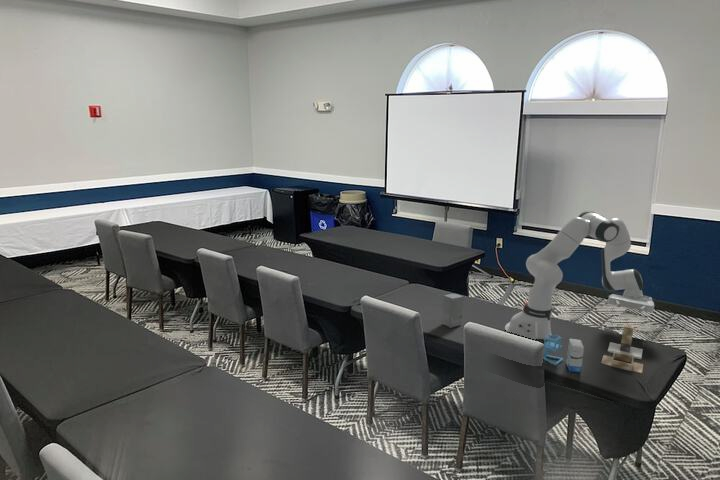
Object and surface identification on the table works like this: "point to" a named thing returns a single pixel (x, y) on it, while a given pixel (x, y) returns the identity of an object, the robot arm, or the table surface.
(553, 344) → the chair
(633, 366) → the tan frame holder
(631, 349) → the board
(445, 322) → the skincare box
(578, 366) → the ink box
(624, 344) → the block
